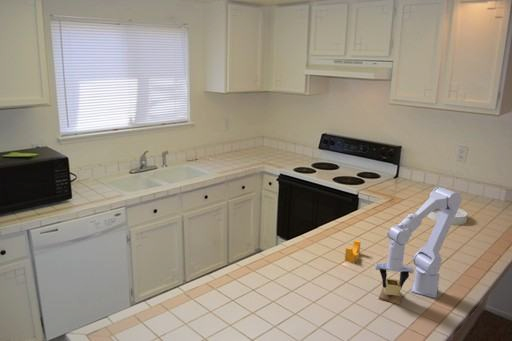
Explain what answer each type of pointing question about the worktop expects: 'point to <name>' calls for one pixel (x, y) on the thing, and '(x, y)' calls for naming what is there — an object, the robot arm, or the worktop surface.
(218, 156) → the worktop surface
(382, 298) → the shaft block
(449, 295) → the worktop surface
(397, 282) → the collar
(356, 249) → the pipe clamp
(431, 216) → the dish
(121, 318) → the worktop surface
